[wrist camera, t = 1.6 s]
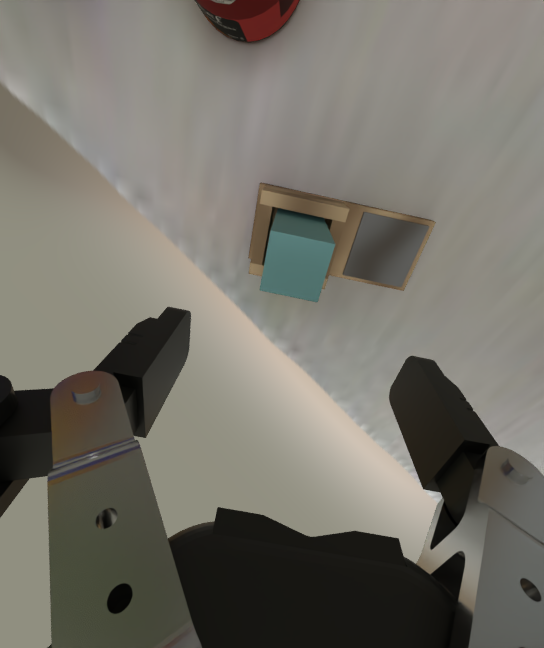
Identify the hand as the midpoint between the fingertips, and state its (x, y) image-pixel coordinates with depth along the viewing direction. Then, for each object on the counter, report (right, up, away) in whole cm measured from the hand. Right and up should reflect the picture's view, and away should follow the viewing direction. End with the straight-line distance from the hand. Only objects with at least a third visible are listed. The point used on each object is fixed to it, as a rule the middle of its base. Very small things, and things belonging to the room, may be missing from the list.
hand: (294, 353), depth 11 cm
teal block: (+1, +10, +16) cm, 19 cm away
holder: (+5, +9, +17) cm, 20 cm away
